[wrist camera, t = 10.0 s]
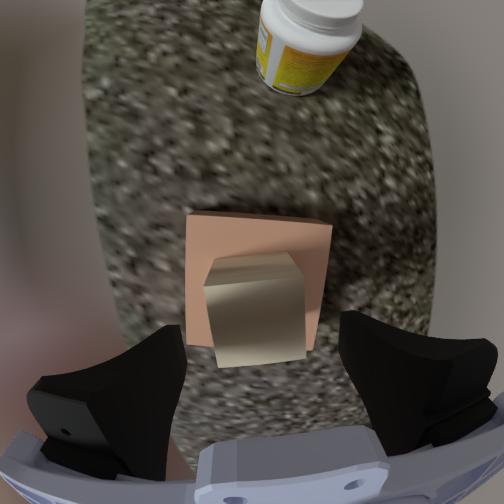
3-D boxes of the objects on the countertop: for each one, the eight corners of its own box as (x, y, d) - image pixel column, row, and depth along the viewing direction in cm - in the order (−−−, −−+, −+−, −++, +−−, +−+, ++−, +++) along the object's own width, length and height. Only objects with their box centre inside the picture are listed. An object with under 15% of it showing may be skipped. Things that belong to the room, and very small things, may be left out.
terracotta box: (302, 325, 23) (312, 350, 19) (195, 319, 22) (186, 344, 18) (316, 218, 21) (332, 225, 17) (197, 209, 20) (186, 214, 16)
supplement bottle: (339, 76, 18) (400, 13, 8) (289, 111, 18) (327, 49, 8) (292, 30, 17) (321, -50, 7) (240, 62, 17) (238, -22, 7)
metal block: (291, 316, 18) (306, 358, 13) (223, 323, 18) (218, 367, 13) (286, 251, 17) (303, 275, 12) (214, 258, 17) (203, 286, 12)
